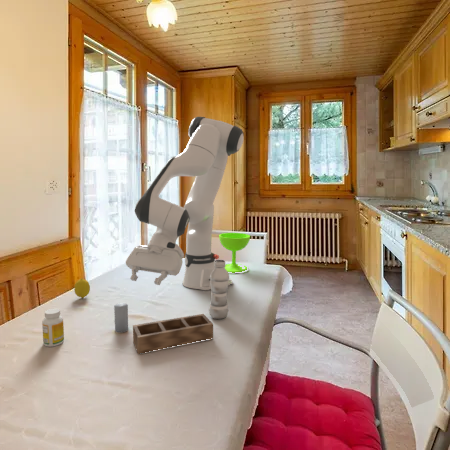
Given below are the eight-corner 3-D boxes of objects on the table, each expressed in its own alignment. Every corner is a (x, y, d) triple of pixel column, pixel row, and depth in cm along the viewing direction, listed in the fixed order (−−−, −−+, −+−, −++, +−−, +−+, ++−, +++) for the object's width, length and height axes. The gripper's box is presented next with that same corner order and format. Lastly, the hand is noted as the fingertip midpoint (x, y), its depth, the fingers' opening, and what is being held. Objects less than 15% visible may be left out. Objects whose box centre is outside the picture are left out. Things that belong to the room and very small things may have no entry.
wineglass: (218, 265, 184) (219, 232, 181) (248, 265, 184) (249, 233, 181) (217, 273, 168) (218, 238, 166) (249, 274, 168) (250, 238, 165)
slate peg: (127, 325, 109) (126, 302, 108) (129, 331, 106) (128, 306, 104) (114, 328, 108) (113, 304, 106) (115, 333, 104) (115, 308, 103)
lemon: (84, 301, 129) (83, 281, 128) (71, 300, 130) (70, 280, 129) (93, 296, 134) (92, 276, 133) (80, 295, 135) (79, 275, 134)
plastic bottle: (208, 313, 120) (209, 258, 117) (227, 313, 121) (228, 258, 118) (209, 321, 114) (210, 263, 111) (229, 321, 114) (230, 263, 111)
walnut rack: (203, 328, 109) (203, 313, 108) (212, 339, 101) (213, 324, 101) (133, 341, 99) (132, 325, 99) (138, 354, 92) (138, 337, 92)
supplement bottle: (40, 347, 95) (38, 315, 93) (47, 338, 100) (45, 307, 98) (61, 346, 96) (59, 314, 94) (66, 337, 101) (64, 306, 99)
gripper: (132, 240, 122) (114, 273, 115) (182, 245, 115) (167, 281, 107) (140, 249, 127) (123, 282, 120) (188, 255, 120) (174, 290, 112)
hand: (144, 282), depth 113 cm, fingers open, 8 cm apart
